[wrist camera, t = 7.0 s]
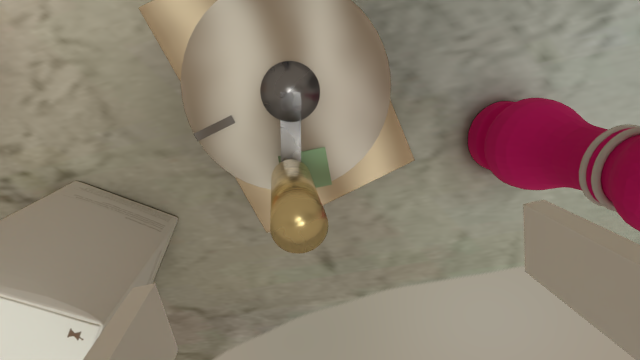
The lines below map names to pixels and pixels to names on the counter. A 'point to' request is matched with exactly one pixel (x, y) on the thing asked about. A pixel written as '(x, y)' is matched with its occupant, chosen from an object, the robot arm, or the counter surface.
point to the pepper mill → (559, 153)
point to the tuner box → (246, 77)
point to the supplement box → (73, 268)
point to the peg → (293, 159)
